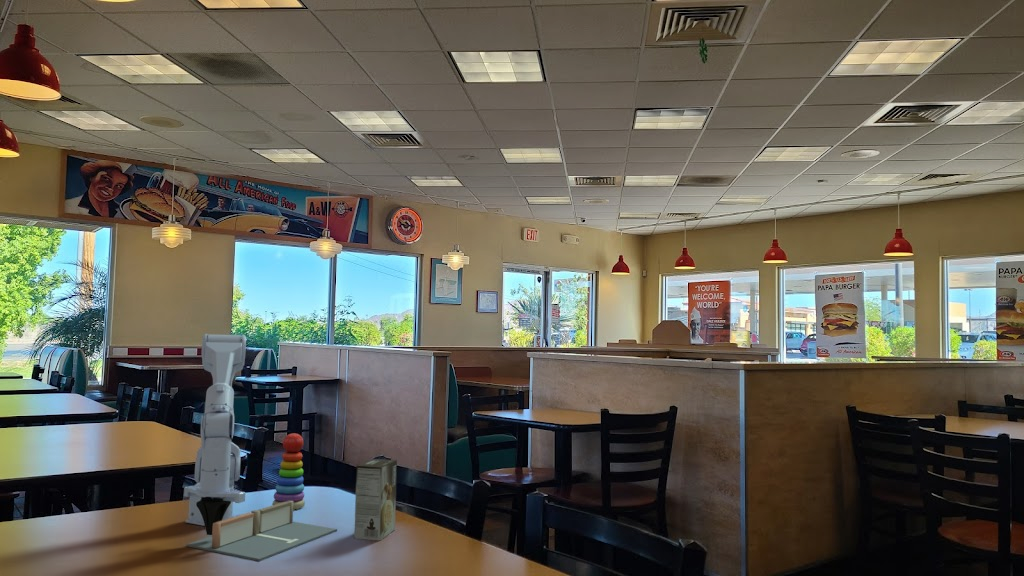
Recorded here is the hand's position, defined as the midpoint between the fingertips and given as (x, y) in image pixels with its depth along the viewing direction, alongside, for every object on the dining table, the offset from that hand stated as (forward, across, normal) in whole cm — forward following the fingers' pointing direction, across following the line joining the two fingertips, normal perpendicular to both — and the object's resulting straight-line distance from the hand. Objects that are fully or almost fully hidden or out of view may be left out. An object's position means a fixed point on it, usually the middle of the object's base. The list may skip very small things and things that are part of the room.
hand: (212, 533), depth 150 cm
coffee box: (+2, +28, +20) cm, 34 cm away
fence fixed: (+2, +5, +13) cm, 14 cm away
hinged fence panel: (+1, +4, +1) cm, 5 cm away
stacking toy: (+2, -4, +31) cm, 32 cm away
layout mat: (+2, +8, +7) cm, 11 cm away
